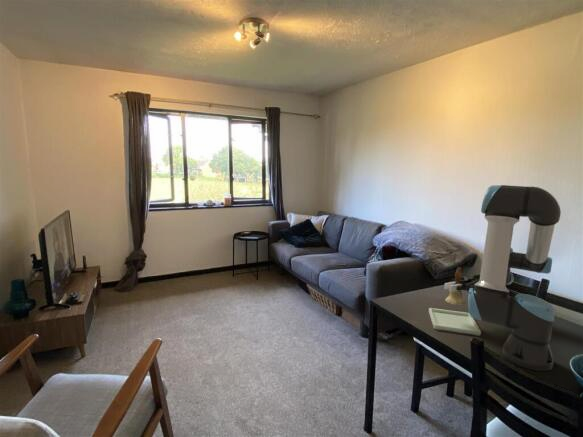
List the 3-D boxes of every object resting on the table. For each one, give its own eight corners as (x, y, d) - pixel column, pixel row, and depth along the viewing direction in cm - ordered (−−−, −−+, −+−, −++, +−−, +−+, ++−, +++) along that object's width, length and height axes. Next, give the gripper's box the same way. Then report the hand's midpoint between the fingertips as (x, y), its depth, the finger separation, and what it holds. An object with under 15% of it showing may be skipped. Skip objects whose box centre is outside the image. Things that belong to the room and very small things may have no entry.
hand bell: (447, 296, 150) (450, 263, 147) (466, 300, 145) (470, 267, 142) (443, 302, 143) (446, 268, 140) (464, 307, 138) (468, 272, 135)
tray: (480, 335, 134) (480, 331, 134) (434, 329, 139) (434, 324, 138) (469, 316, 151) (470, 313, 151) (428, 311, 156) (429, 307, 156)
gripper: (499, 294, 143) (461, 302, 134) (469, 282, 157) (433, 289, 148) (501, 278, 142) (463, 285, 133) (471, 268, 155) (434, 273, 147)
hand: (447, 287), depth 141 cm, fingers closed on hand bell, 2 cm apart
